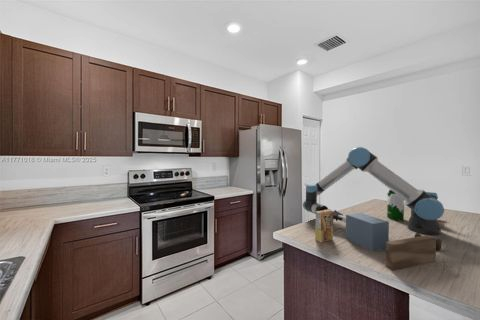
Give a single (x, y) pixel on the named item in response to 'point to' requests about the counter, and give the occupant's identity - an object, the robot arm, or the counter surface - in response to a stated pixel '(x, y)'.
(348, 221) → the block
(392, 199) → the milk carton
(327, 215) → the candy box
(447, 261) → the counter surface
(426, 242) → the board
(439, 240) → the kendama
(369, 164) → the robot arm
